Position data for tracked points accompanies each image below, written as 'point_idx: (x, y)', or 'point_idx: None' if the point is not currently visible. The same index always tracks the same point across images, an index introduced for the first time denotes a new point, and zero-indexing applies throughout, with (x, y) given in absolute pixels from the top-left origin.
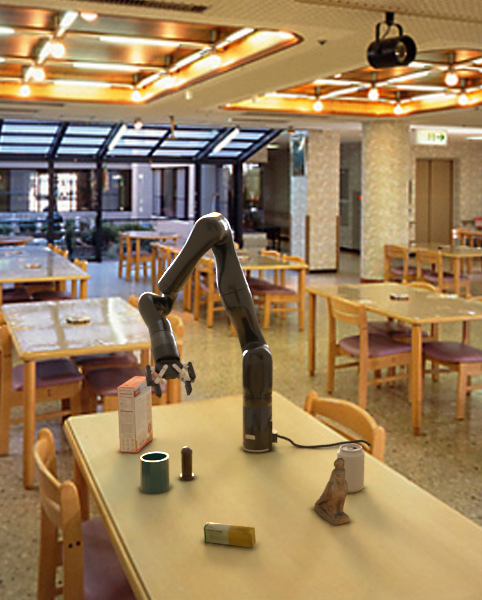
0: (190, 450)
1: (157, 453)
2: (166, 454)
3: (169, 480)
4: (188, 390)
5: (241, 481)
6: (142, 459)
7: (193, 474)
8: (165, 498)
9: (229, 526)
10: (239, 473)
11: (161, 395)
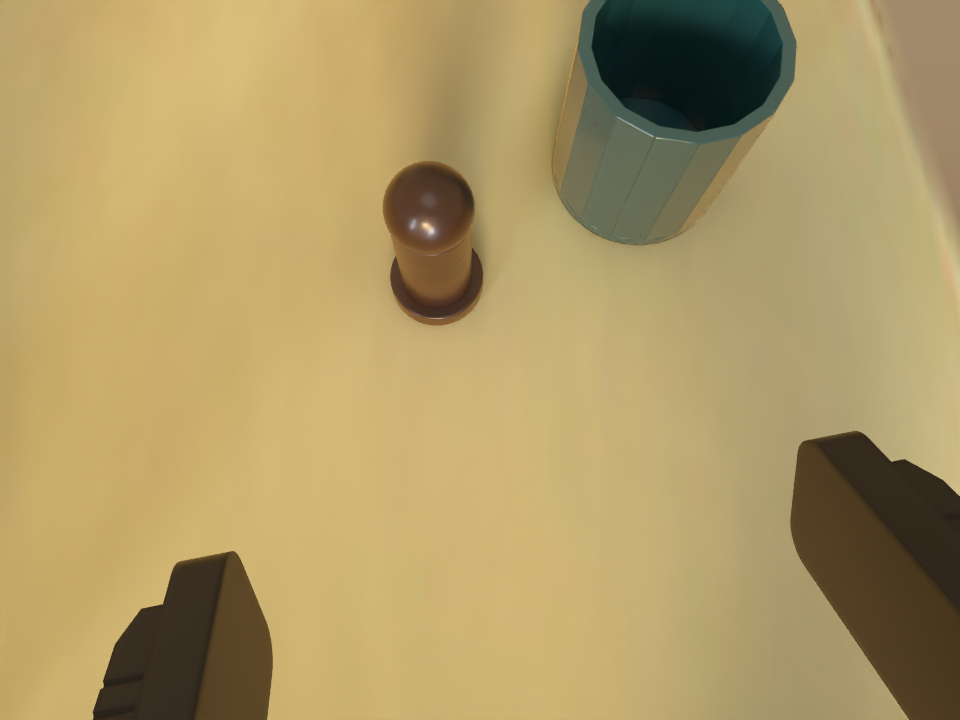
0: (399, 172)
1: (664, 129)
2: (596, 71)
3: (555, 145)
4: (219, 571)
5: (123, 160)
6: (775, 11)
7: (395, 269)
8: (578, 28)
9: None
10: (99, 288)
11: (805, 445)
